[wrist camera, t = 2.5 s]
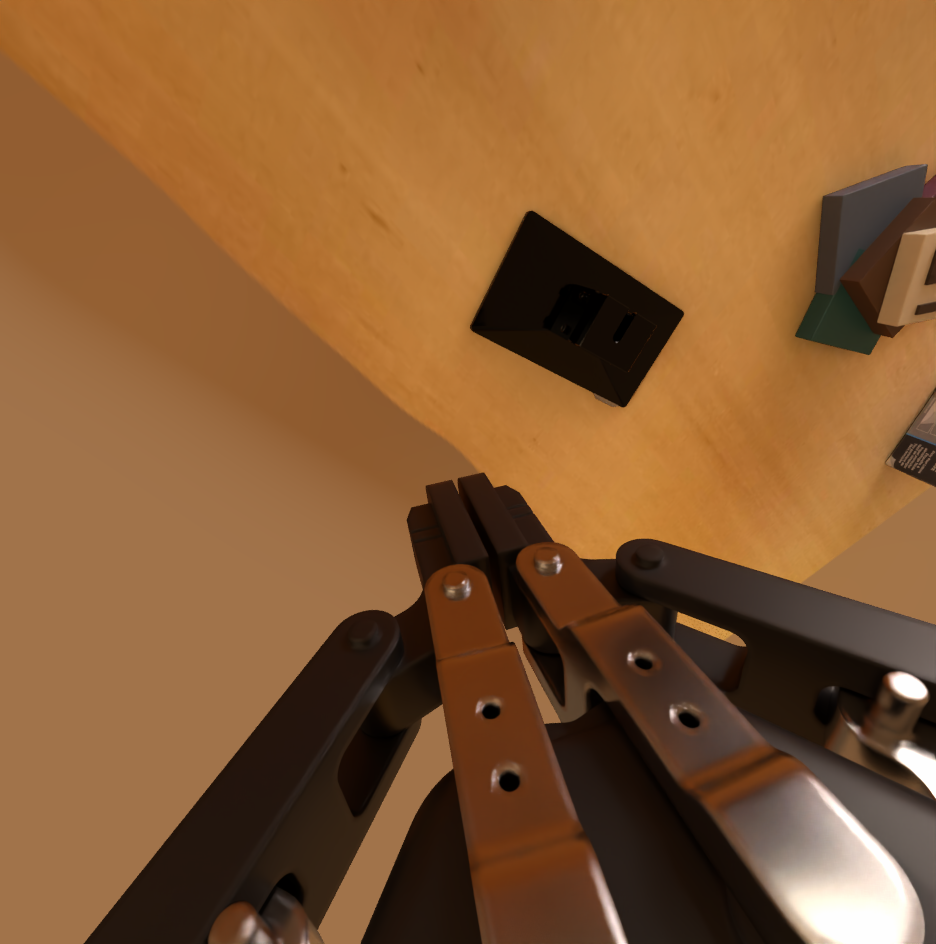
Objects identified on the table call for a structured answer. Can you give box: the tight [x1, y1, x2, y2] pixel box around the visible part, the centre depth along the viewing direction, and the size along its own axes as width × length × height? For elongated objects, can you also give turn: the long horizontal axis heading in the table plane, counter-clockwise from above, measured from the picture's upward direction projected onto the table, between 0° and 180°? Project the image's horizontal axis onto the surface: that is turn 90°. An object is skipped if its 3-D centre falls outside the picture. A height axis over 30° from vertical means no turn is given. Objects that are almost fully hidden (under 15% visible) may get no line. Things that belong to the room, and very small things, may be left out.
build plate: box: [470, 211, 684, 407], centre depth 28 cm, size 12×7×5 cm, turn 63°
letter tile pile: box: [795, 164, 936, 355], centre depth 32 cm, size 12×12×4 cm
